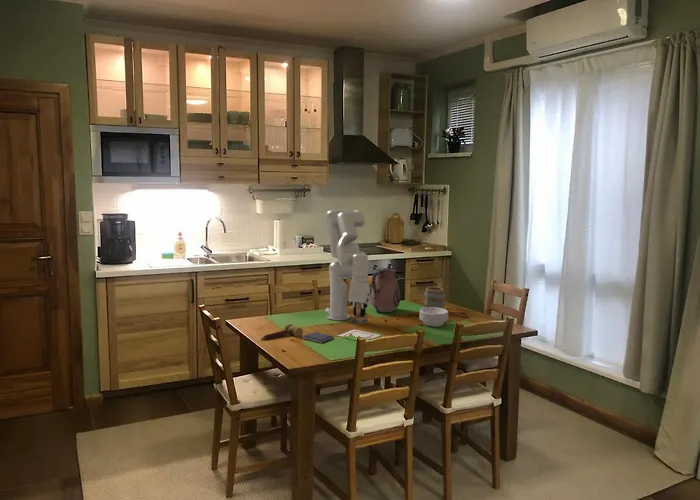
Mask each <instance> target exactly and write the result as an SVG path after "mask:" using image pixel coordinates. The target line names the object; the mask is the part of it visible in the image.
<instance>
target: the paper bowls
mask: <svg viewBox="0 0 700 500" xmlns="http://www.w3.org/2000/svg"><path fill="white" fill-rule="evenodd" d="M418 319H419V320H420V321H422V323H423V324H424V325H425V326H426V327H427V326H428V327H435V328H436V327H442V326H444V324H445V322H447V321H449V311H448V310H447V309H446V308H444V309H443V308H438V307H425V306H424V307H422V308H420V309H419V318H418Z"/></svg>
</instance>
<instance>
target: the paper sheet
mask: <svg viewBox="0 0 700 500" xmlns="http://www.w3.org/2000/svg"><path fill="white" fill-rule="evenodd" d="M350 334H352V335H353V336H355V337H358V336H360V337H362V338H363V337H364V339H371V340H373V339H376V338H378V337H380V336H381V334H378V333H372V332H368V331H364V330H359V329H355V328H353V329H352V330H349V331H346V332H344V333H341V334H338V335H337V336H342V337H343V336H346V337H347V336H349V335H350ZM356 339H357V338H356Z"/></svg>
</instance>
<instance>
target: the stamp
mask: <svg viewBox="0 0 700 500" xmlns="http://www.w3.org/2000/svg"><path fill="white" fill-rule="evenodd" d="M361 309H362V307H361V303H358V302H356V315H355V316H354V314H353V315H351V316H350V323H353V324H359V325H361V324H364V323H367V322H368V321H369V320H368V315H366V314H365V316H363V317H361V316H360V313H361Z"/></svg>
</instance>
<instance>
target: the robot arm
mask: <svg viewBox="0 0 700 500" xmlns="http://www.w3.org/2000/svg"><path fill="white" fill-rule="evenodd" d="M365 219H366V218H365V215H364V213H363V212H362V211H361V210H358V209H349V208H348V209H344V208H342V209H336V208H335V209H331V210H328V211H327V212H326V214H325V223H326V226H327V227H326V228H327V229H328V232H329V245H330V247H329V248H330V254H331V257H332V259H337V261H333V262H331V263H330V264H329V266H328V273H329V286H330V287H329V288H330V289H329V290H330V291H329V292H330V295H329V308H328V307H326V308H325V310H324V312H325V313H328V314H327V319H329V320H332V321H345V320H348V319H349V320H350V319H351V316H350V314H349V313H348V302H349V303H350V304H351V306H352V308H353V312H352V313H353V315H354V316H355V315H356V302H358V303H361V307H362V309H361V313H360V316H361V317H363V316H365V315H366V309H367V307H368V306H370V305H372V303H371V299H370V296H371V289H370V283H369V282H368V280H369V274H368V273H369V271H368V270H369V256H368V254H366V253H365V252H364V251H362V250H361V251H360V246H359V244H358V242H356V241H357V239H358V237H359V235H358V230H357V228H362V227H364V226H365V223H366V220H365ZM344 279H352V280H351V281H350V284H349V289H348V285H347V283H346V281H344Z"/></svg>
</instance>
